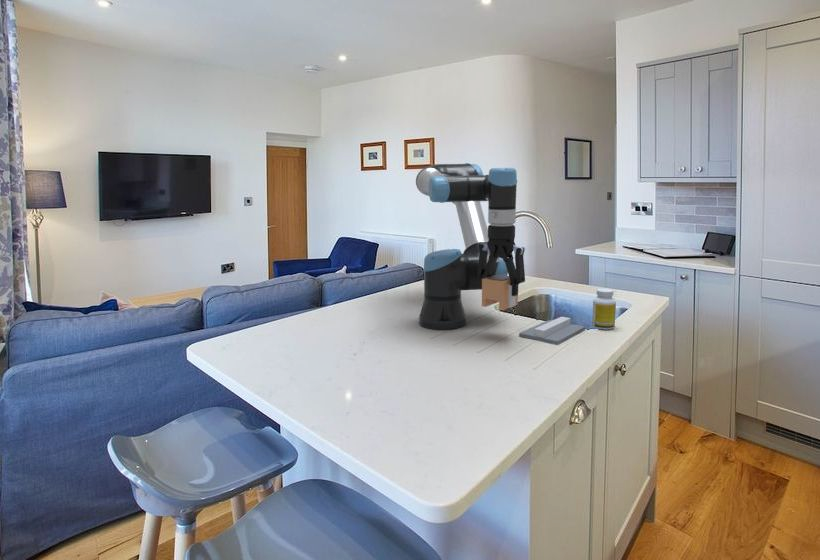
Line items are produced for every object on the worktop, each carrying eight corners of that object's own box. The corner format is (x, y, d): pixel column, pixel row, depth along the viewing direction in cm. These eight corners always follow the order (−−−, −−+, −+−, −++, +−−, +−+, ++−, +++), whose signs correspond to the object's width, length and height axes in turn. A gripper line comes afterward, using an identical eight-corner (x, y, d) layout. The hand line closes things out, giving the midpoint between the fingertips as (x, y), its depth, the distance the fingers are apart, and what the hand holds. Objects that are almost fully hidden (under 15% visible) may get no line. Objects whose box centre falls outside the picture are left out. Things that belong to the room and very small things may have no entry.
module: (481, 306, 144) (482, 277, 142) (497, 300, 149) (497, 273, 148) (502, 310, 139) (503, 281, 137) (517, 304, 145) (518, 276, 143)
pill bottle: (616, 330, 150) (618, 292, 147) (593, 330, 151) (595, 292, 149) (612, 324, 156) (614, 288, 154) (590, 324, 157) (592, 287, 155)
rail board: (519, 336, 146) (519, 326, 145) (548, 323, 159) (548, 313, 158) (557, 344, 138) (558, 334, 137) (585, 329, 151) (585, 320, 150)
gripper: (464, 223, 143) (464, 301, 148) (526, 227, 130) (524, 313, 135) (479, 221, 149) (478, 296, 154) (540, 225, 136) (537, 307, 140)
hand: (499, 304), depth 144 cm, fingers closed on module, 7 cm apart
